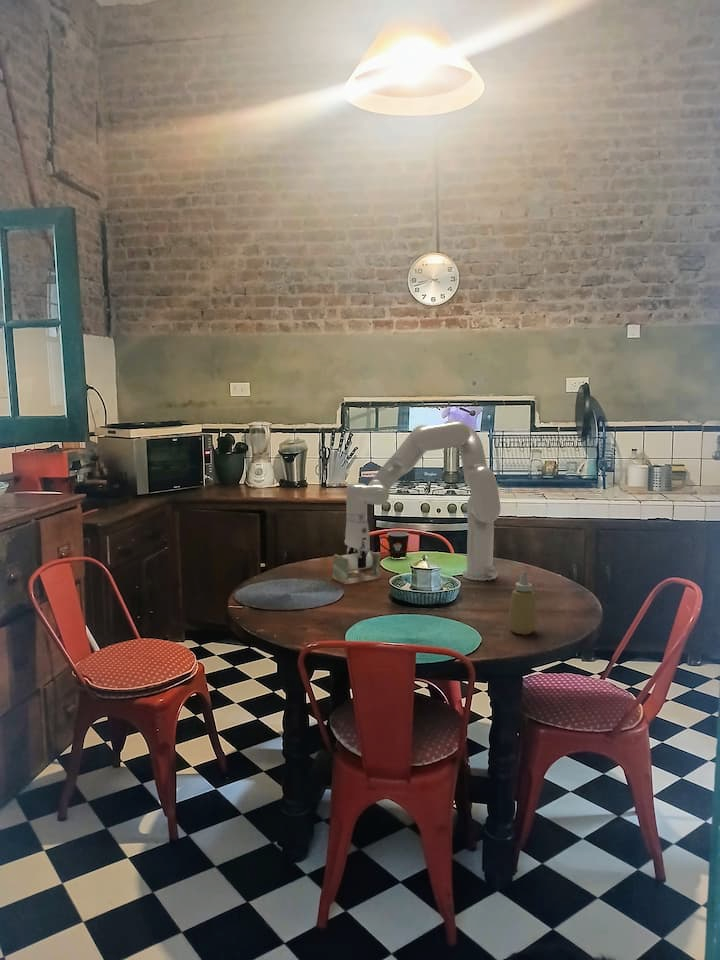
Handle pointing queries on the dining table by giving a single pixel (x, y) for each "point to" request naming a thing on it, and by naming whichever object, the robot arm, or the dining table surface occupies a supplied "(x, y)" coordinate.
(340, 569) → the roll holder
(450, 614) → the dining table surface
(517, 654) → the dining table surface
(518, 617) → the squeeze bottle
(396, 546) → the coffee mug
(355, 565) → the paper roll
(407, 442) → the robot arm
